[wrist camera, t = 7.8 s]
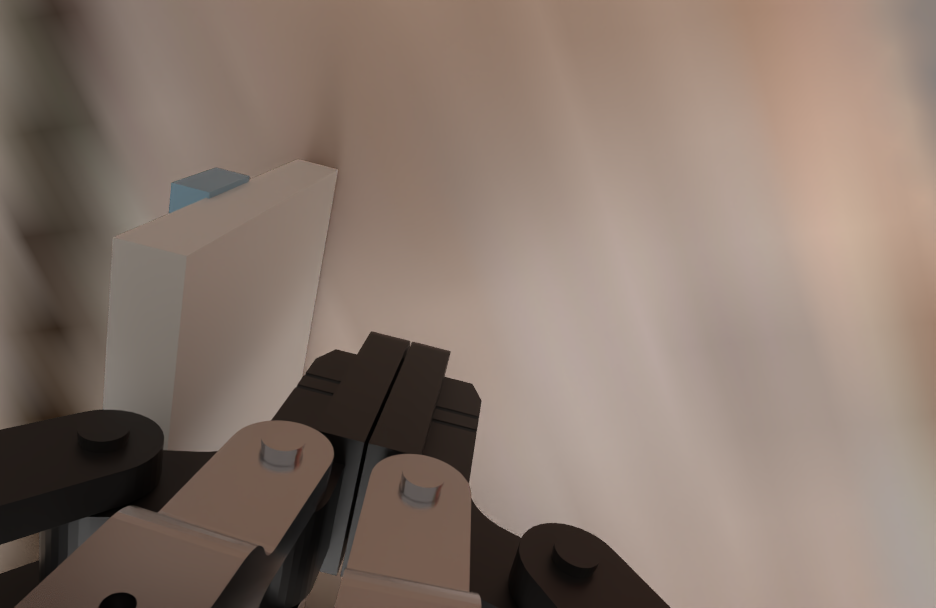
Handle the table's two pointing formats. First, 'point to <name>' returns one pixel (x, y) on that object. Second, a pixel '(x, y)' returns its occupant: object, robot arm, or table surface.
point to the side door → (217, 302)
